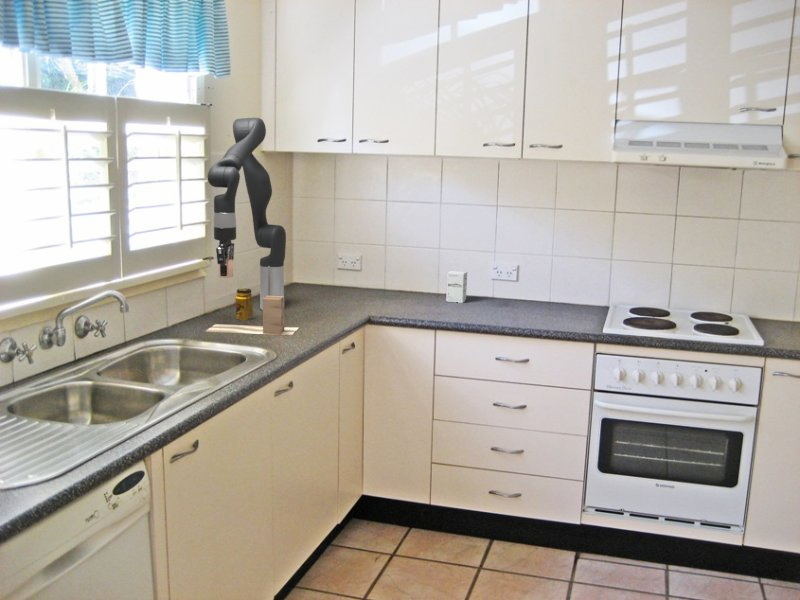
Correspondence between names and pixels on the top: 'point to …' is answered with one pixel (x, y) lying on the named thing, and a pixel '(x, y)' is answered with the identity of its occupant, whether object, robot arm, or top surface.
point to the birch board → (246, 329)
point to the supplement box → (456, 286)
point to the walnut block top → (273, 306)
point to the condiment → (244, 305)
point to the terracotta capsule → (228, 269)
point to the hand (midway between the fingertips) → (225, 274)
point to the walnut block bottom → (273, 325)
